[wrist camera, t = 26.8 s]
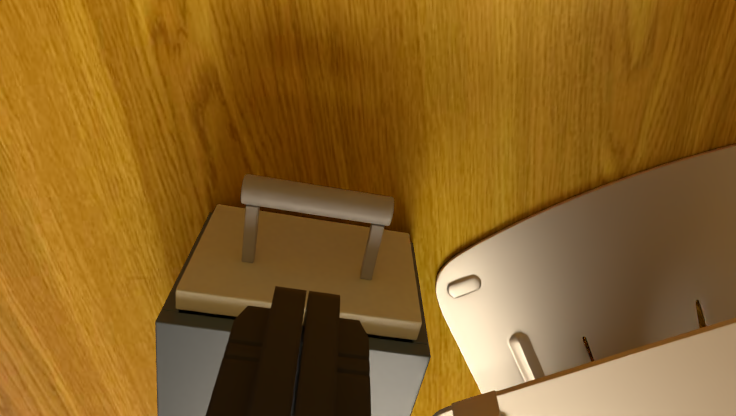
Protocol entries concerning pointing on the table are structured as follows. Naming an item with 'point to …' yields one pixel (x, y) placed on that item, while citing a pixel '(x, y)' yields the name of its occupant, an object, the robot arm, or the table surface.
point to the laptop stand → (605, 300)
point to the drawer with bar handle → (305, 256)
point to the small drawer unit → (387, 357)
